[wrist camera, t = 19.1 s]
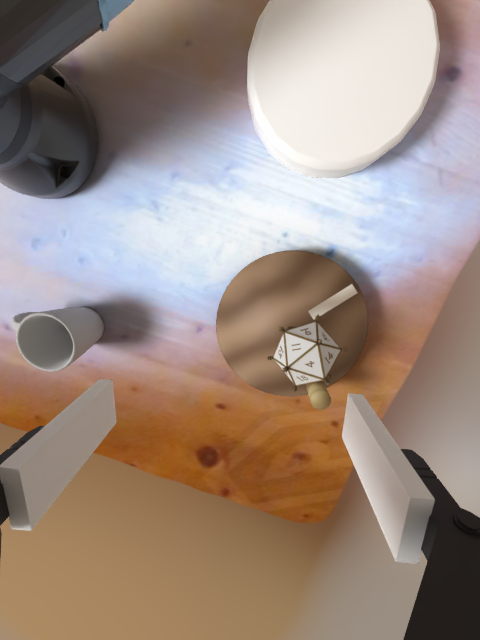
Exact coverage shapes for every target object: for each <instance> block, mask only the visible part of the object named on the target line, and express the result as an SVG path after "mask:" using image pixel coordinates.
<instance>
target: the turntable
mask: <svg viewBox="0 0 480 640" xmlns="http://www.w3.org/2000/svg"><path fill="white" fill-rule="evenodd" d="M318 314H319V320H318V323H319V324H320V325H321V326H322V327H323V328H324V330H325V331H326V332H327V333H328V334H329V335H330V336H331V337H332V338H333V340H334V341H335V342H336V343H337V344H338V345H339V346H340V347H341V348H343V347H348V348H349V349H348V350H347V351H341V353H340V355H339V356H338V358H337V360H336V362H335V364H334V366H333V367H332V369H331V371H330V373H329V375H331V379H328V378H326V379H327V380H328V381H329V382H330V383H329V385H330V386H331V385H332V384H334V383H335V382H337V381H338V380H339V379H341V378H342V377H343V376H344V375H345V374H346V373H347V372H348V371H349V370H350V369H351V368H352V366H353V365H354V364H355V362H356V361H357V359H358V357H359V356H360V354H361V352H362V349H363V347H364V344H365V341H366V337H367V331H368V313H367V307H366V303H365V300H364V297H363V295H362V293H361V291H360V289H359V287H358V285H357V284H356V282H355V281H354V279H353V278H352V277H351V276H350V275H349V274H348V273H347V272H346V271H345V270H344V269H343V268H342V267H340V266H339V265H338V264H336V263H335V262H333V261H331V260H330V259H328V258H325V257H323V256H320V255H317V254H314V253H310V252H303V251H283V252H276V253H273V254H269V255H266V256H264V257H261V258H259V259H257V260H255V261H254V262H252V263H250V264H249V265H248V266H246V267H245V268H244V269H242V270H241V271H240V272H239V273H238V274H237V275H236V276H235V277H234V279H233V280H232V281H231V283H230V284H229V285H228V287H227V288H226V290H225V292H224V294H223V296H222V299H221V301H220V304H219V308H218V312H217V319H216V332H217V338H218V343H219V346H220V349H221V352H222V354H223V356H224V358H225V360H226V361H227V363H228V365H229V366H230V367H231V369H232V370H233V371H234V372H235V373H236V374H237V375H238V376H239V377H240V378H241V379H242V380H244V381H245V382H246V383H248V384H249V385H251V386H253V387H255V388H256V389H259V390H261V391H264V392H266V393H270V394H274V395H280V396H302V395H307V394H308V395H309V398H310V401H311V404H312V406H313V407H314V408H316V409H325V408H327V407H328V406H329V405H330V403H331V398H330V395H329V393H328V391H327V389H326V388H327V387H329V386H328V385H325V383H324V381H319V382H314V383H310V384H305V385H300V386H297V389H296V390H297V391H295V392H294V393H293V390H292V389H293V387H294V384H293V383H292V382H291V381H290V379H289V378H288V377H287V376H286V374H285V373H284V372H283V371H282V369H281V368H280V367H279V366H278V365H277V363H276V362H275V361H274V360H273V359H272V360H268V359H266V358H267V357H268V356H273V355H274V352H275V350H276V348H277V345H278V343H279V341H280V338H281V336H282V333H283V332H281V331H279V326H280V327H283V328H284V330H286V329H287V328H290V329H291V328H294V327H297V326H301V325H304V324H307V323H310V322H313V321H315V316H317V315H318Z"/></svg>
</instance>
